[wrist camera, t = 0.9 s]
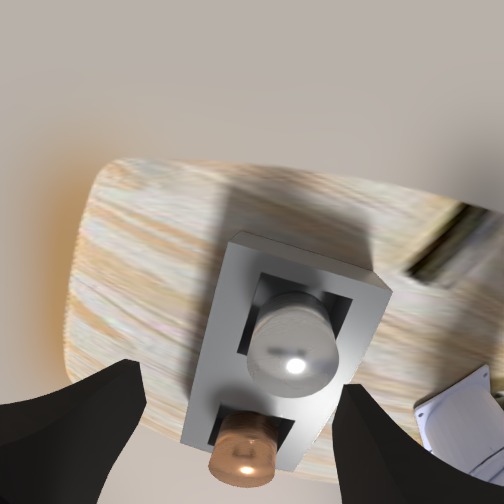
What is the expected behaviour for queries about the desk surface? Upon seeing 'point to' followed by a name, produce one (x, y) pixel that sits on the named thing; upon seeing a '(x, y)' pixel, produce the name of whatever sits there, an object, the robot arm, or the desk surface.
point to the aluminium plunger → (292, 346)
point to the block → (241, 330)
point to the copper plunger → (245, 450)
